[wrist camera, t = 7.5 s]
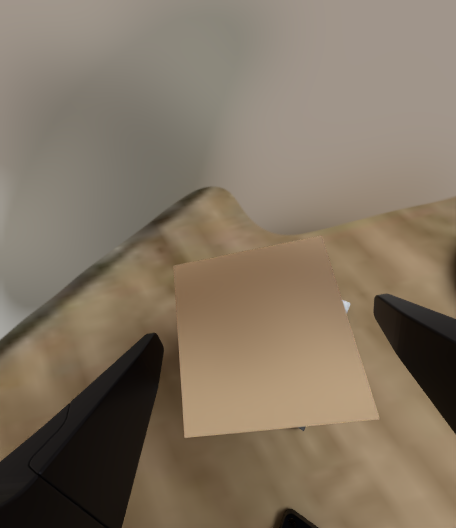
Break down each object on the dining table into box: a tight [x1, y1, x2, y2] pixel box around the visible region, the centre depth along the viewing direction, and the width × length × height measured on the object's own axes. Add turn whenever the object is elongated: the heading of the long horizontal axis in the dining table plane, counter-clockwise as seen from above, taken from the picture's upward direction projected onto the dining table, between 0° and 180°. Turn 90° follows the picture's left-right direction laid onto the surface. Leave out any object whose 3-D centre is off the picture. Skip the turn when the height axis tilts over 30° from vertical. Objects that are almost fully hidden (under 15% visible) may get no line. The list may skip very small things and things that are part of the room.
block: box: [173, 235, 380, 438], centre depth 12 cm, size 5×9×13 cm, turn 99°
